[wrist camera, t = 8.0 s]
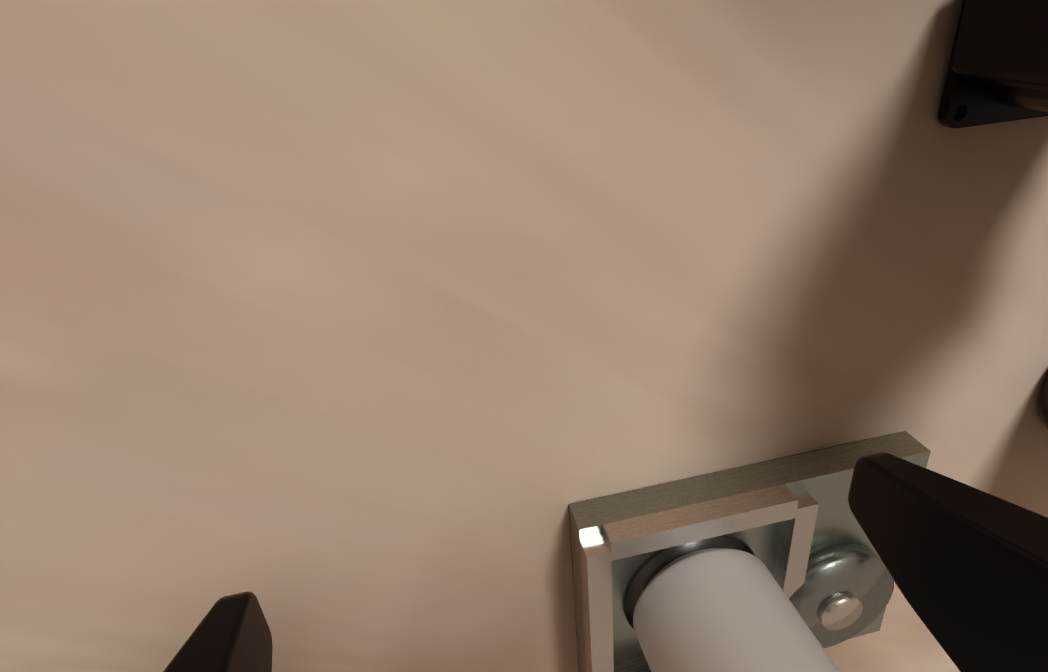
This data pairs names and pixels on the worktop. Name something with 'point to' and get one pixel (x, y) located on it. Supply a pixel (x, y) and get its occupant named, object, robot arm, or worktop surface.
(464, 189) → the worktop surface
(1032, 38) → the robot arm
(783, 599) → the beverage can
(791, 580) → the grey flat piece
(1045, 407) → the supplement bottle
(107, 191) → the worktop surface
